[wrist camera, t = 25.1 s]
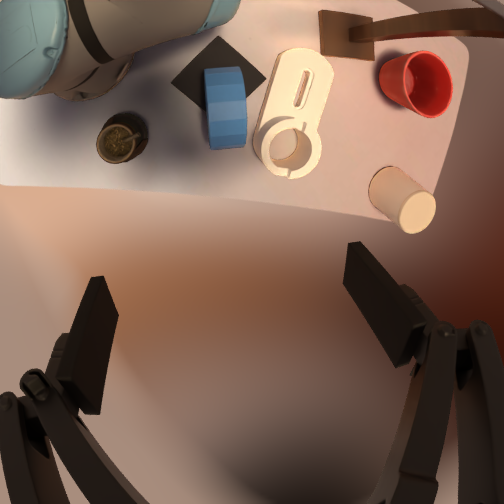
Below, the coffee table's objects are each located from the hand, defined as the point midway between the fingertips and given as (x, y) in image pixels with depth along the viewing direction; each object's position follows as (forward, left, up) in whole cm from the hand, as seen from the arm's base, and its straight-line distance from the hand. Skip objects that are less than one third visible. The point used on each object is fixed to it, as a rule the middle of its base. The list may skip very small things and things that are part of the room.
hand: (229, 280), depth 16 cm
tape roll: (-3, +6, -29) cm, 29 cm away
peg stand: (-1, +26, -35) cm, 44 cm away
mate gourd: (-11, -6, -35) cm, 37 cm away
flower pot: (+14, +32, -35) cm, 49 cm away
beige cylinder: (+30, +17, -24) cm, 42 cm away
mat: (-6, +9, -35) cm, 36 cm away
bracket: (+5, +13, -35) cm, 38 cm away
